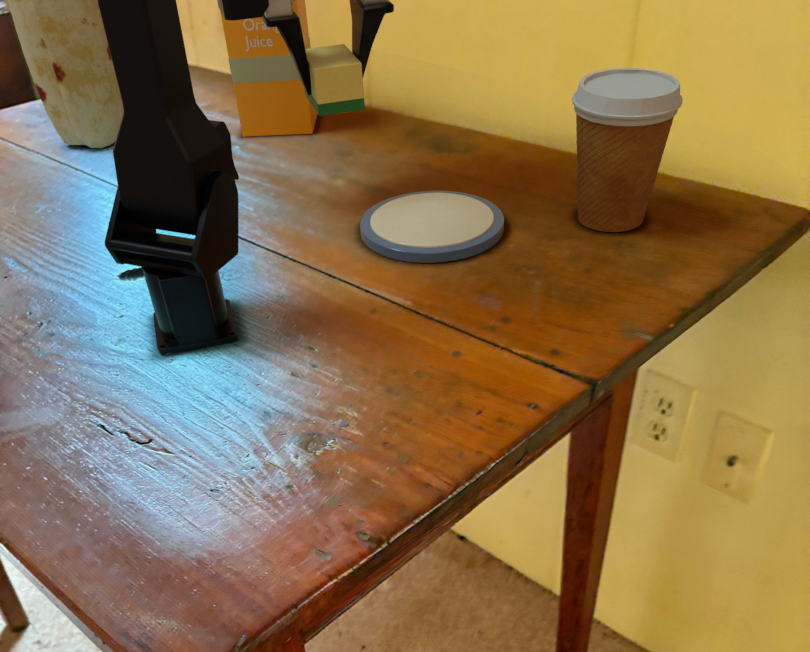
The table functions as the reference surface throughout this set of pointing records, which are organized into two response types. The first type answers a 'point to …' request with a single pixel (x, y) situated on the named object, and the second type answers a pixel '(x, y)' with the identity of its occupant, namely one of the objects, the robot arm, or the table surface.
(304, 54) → the robot arm
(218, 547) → the table surface
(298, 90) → the orange juice
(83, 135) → the food model
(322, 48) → the sponge
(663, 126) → the disposable coffee cup
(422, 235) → the plate
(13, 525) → the table surface
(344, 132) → the table surface
